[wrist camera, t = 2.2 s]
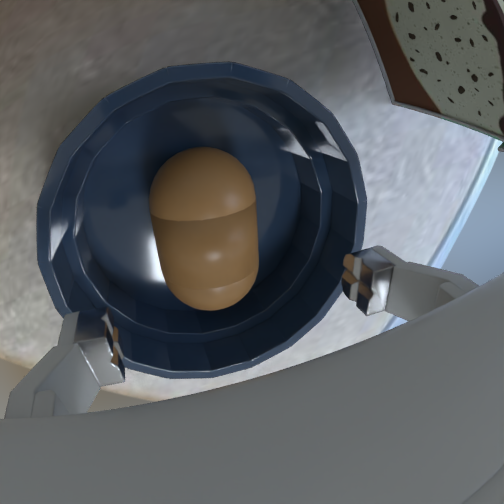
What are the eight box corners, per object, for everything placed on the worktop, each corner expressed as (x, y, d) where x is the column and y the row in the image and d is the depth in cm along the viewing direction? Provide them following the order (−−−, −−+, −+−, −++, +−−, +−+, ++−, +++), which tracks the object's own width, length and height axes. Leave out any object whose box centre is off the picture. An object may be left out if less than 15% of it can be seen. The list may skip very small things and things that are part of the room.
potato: (141, 149, 14) (141, 167, 10) (235, 135, 15) (270, 148, 11) (165, 286, 17) (177, 340, 13) (244, 269, 19) (274, 316, 15)
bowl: (41, 105, 11) (1, 107, 7) (313, 72, 15) (371, 69, 11) (103, 339, 18) (102, 400, 14) (310, 291, 22) (349, 335, 18)
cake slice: (447, 98, 19) (561, 125, 10) (398, 124, 18) (530, 162, 10) (392, -50, 12) (508, -74, 4) (328, -46, 12) (457, -98, 3)
